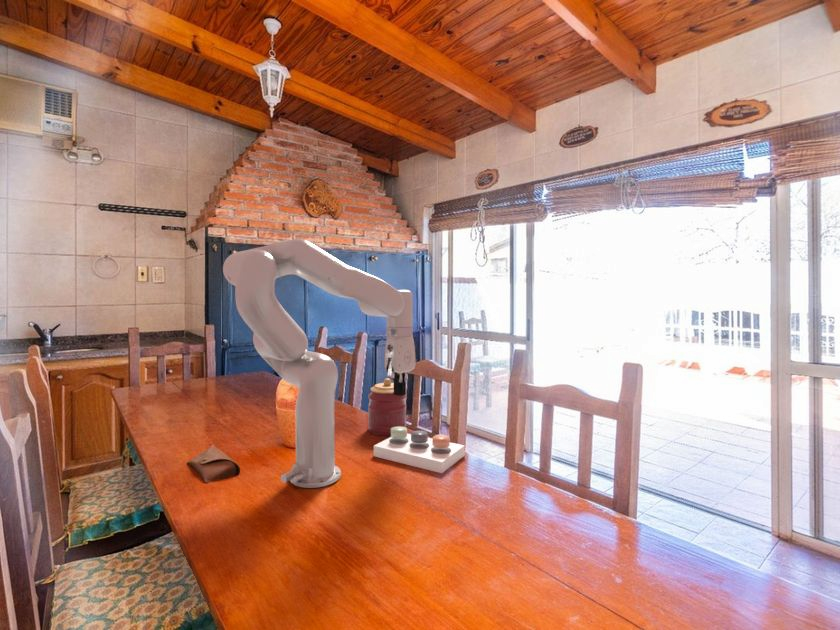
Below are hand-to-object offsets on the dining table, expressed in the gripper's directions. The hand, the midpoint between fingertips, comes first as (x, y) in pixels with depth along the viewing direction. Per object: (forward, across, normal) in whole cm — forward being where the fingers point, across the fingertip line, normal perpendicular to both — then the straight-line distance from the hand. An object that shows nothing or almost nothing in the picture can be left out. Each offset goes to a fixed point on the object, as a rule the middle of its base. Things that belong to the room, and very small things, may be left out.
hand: (399, 394), depth 127 cm
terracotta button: (+12, 0, -14) cm, 18 cm away
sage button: (+12, 0, 0) cm, 12 cm away
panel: (+17, 0, -7) cm, 18 cm away
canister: (+17, +14, +14) cm, 26 cm away
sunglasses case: (+17, -36, +36) cm, 54 cm away
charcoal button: (+12, 0, -7) cm, 14 cm away
